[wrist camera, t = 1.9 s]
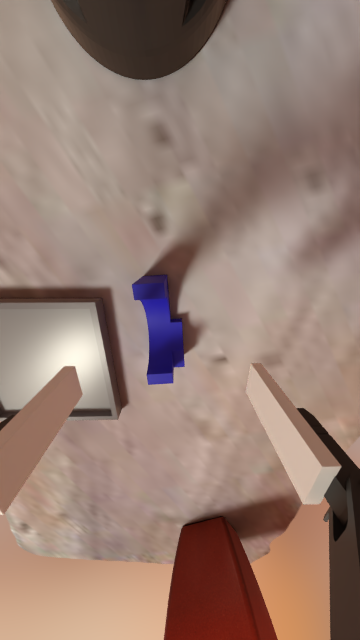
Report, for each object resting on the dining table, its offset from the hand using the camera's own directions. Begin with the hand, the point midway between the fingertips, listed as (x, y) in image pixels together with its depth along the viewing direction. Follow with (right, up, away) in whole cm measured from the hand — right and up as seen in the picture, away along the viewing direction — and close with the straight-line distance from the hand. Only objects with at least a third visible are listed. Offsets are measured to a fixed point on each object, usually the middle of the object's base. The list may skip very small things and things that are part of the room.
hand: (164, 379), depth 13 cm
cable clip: (-1, +5, +11) cm, 12 cm away
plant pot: (+10, -55, +35) cm, 67 cm away
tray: (-19, -2, +13) cm, 23 cm away
